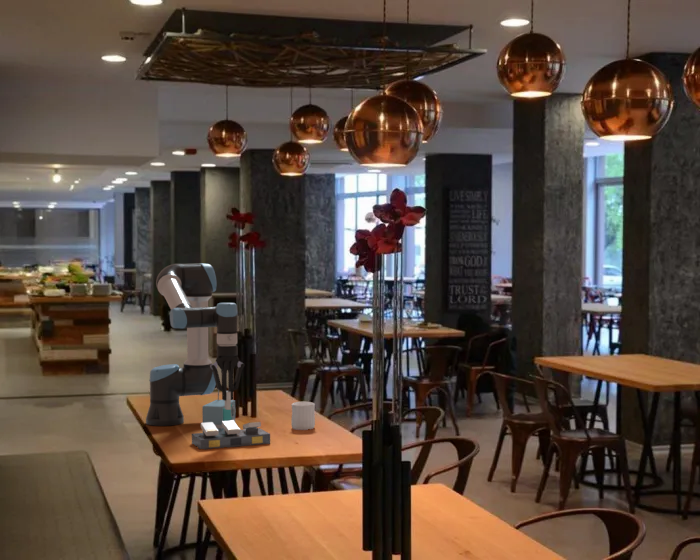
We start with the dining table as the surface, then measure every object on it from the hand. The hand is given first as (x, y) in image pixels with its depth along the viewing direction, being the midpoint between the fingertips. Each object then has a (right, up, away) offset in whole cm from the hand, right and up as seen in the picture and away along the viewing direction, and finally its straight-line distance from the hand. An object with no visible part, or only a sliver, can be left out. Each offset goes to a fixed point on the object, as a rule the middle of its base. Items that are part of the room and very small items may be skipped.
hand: (227, 409), depth 370 cm
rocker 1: (-6, -6, -6) cm, 11 cm away
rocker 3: (+9, -6, 0) cm, 11 cm away
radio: (-5, -12, +16) cm, 21 cm away
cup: (+26, -11, +28) cm, 40 cm away
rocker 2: (+1, -6, -3) cm, 7 cm away
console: (+1, -12, -3) cm, 13 cm away
